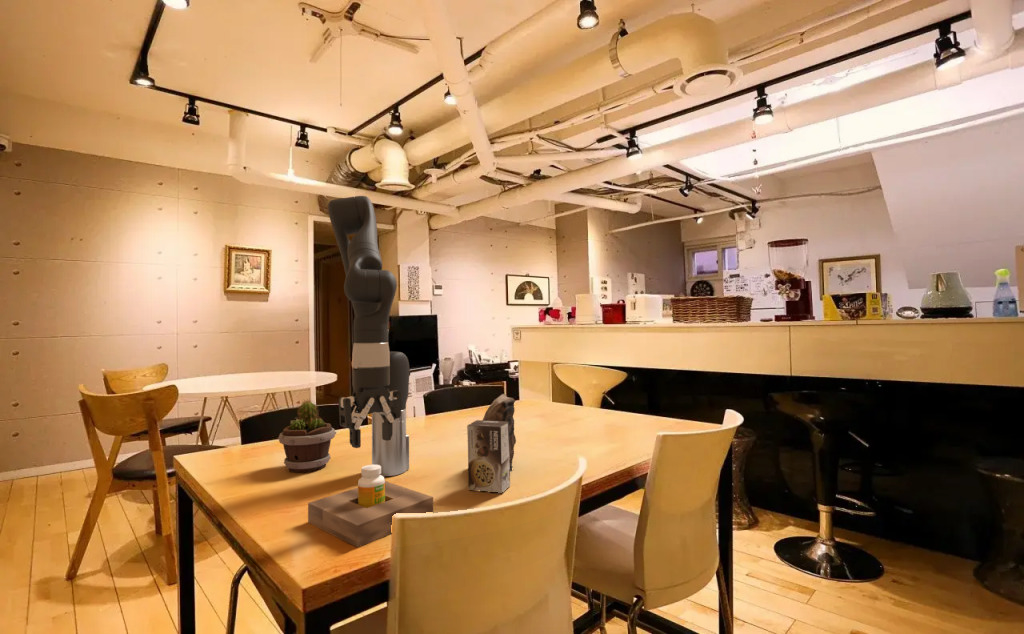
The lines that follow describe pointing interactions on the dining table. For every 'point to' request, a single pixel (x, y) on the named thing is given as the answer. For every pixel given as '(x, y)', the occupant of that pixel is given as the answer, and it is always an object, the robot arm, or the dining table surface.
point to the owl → (503, 418)
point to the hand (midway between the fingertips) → (371, 443)
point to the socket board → (365, 513)
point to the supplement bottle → (371, 486)
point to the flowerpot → (307, 441)
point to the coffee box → (488, 456)
